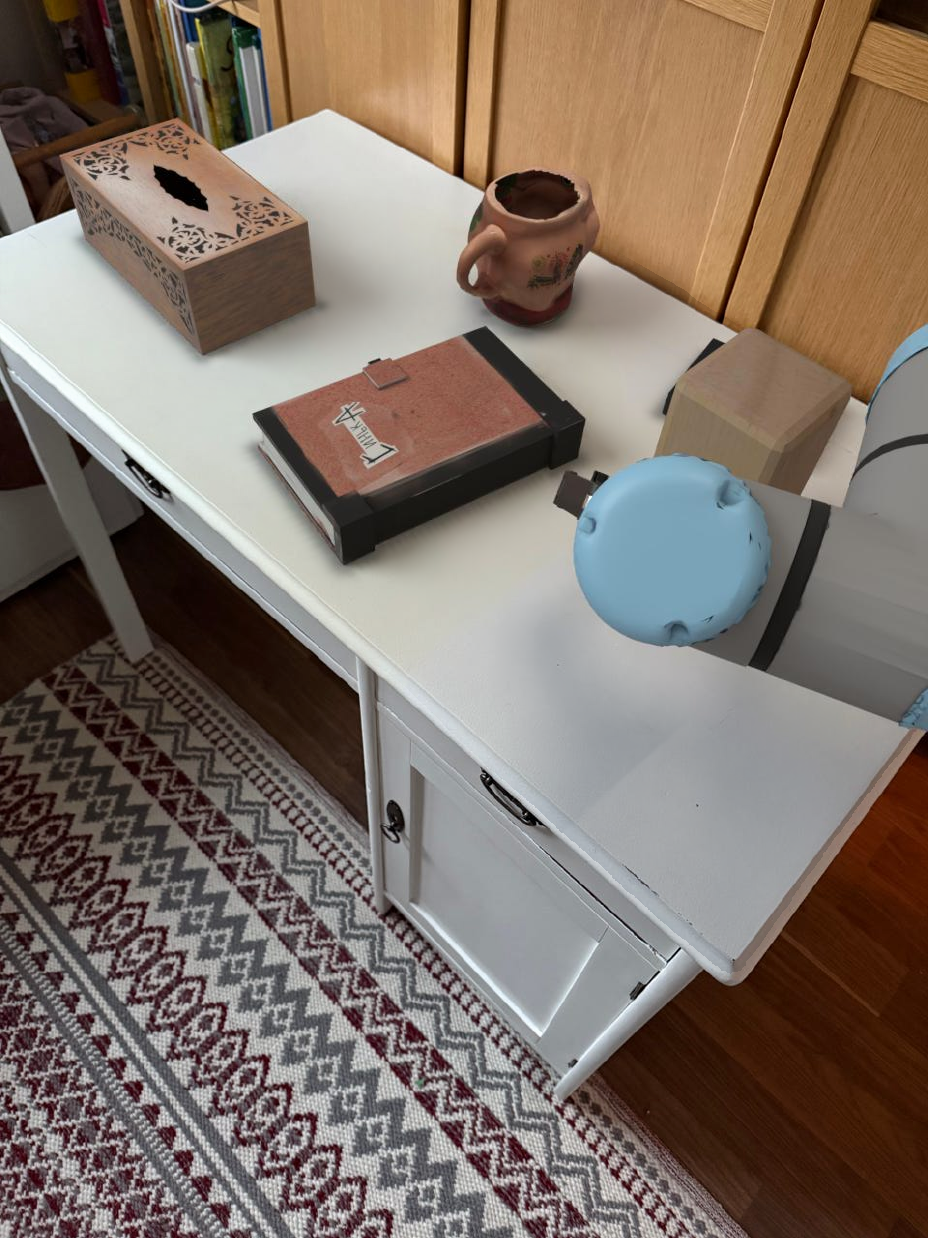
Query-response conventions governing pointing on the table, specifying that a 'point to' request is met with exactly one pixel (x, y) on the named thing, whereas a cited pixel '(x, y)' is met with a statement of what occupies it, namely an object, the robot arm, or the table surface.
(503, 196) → the terracotta mug
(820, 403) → the wooden block
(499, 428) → the book
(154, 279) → the tissue box cover
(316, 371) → the table surface
